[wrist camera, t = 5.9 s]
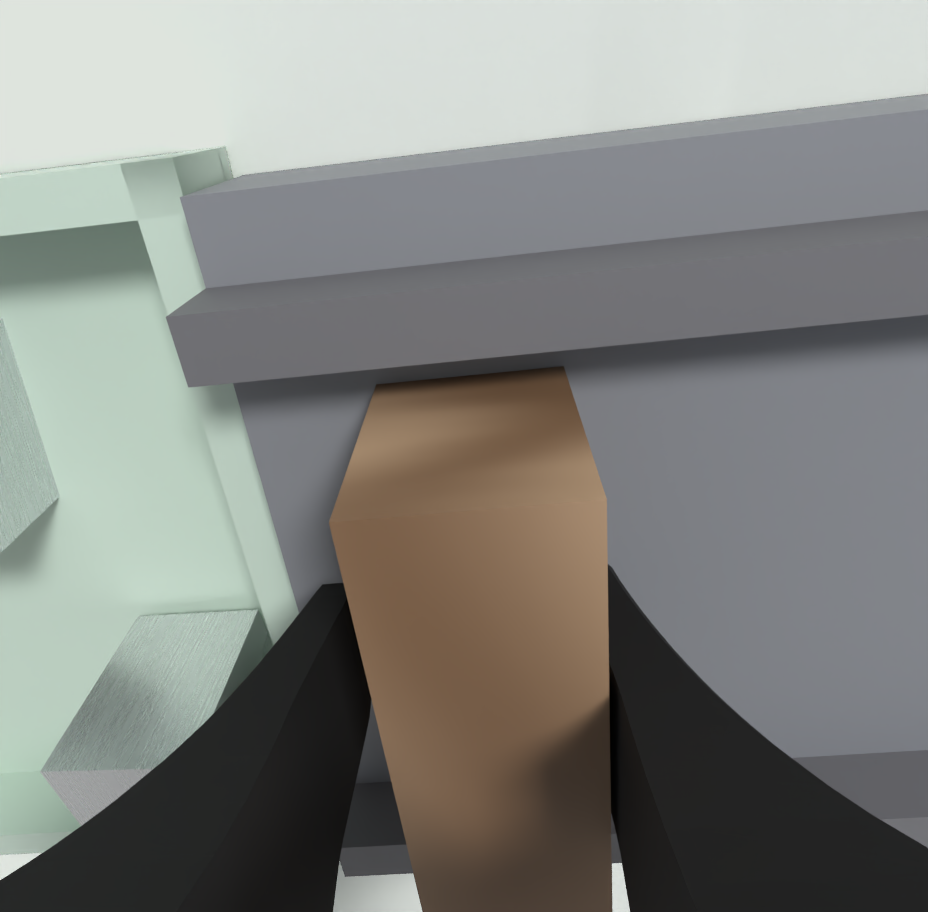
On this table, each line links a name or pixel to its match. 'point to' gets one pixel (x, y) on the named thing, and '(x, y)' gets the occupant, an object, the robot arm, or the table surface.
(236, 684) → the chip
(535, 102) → the table surface
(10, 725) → the chip tray
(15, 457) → the grey small block
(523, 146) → the channel board
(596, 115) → the table surface
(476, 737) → the bar
